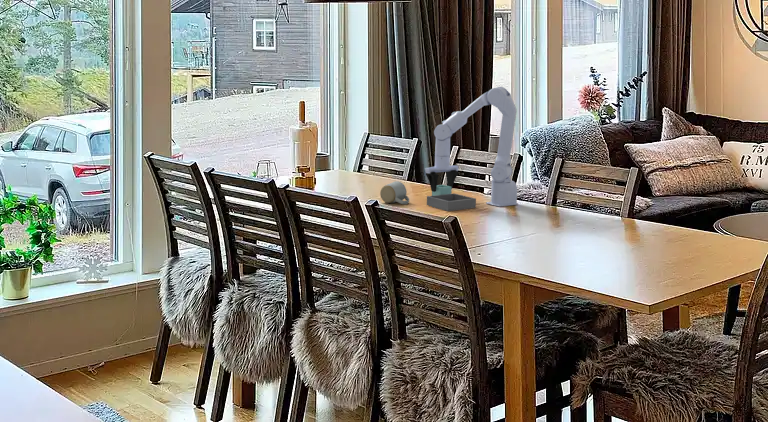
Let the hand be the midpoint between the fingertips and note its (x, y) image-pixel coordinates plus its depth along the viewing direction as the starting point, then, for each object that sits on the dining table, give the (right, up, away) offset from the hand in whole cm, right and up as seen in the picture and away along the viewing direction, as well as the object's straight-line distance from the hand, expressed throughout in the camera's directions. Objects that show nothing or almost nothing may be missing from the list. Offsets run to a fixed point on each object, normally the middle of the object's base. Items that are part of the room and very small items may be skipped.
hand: (441, 190), depth 364 cm
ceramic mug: (-18, -5, -5) cm, 19 cm away
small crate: (0, -4, +1) cm, 4 cm away
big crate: (+3, -6, -12) cm, 14 cm away
